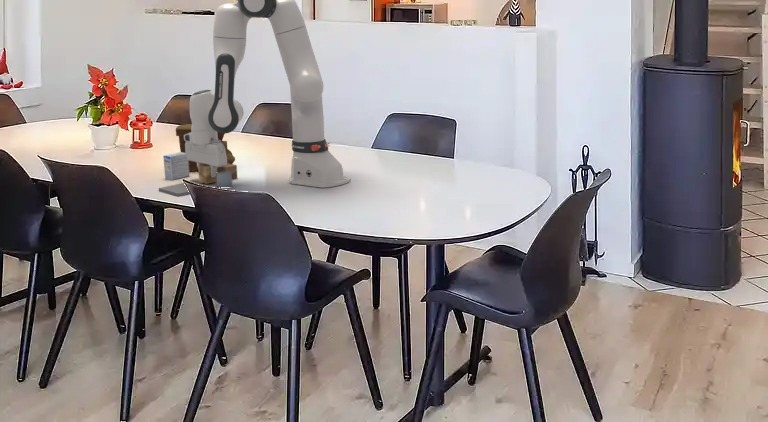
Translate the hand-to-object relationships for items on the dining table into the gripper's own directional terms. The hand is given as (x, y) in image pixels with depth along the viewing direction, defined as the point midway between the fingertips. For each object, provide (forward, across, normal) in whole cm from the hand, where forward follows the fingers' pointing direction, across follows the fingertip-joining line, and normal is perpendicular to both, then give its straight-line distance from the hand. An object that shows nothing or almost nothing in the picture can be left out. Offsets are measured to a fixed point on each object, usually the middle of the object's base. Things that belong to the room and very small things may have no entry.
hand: (207, 175), depth 307 cm
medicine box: (+3, +16, +2) cm, 16 cm away
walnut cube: (+3, 0, -8) cm, 9 cm away
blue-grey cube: (+3, -10, 0) cm, 10 cm away
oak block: (+2, 0, 0) cm, 2 cm away
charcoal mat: (+2, -3, +13) cm, 13 cm away
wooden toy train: (+3, +20, -14) cm, 25 cm away
